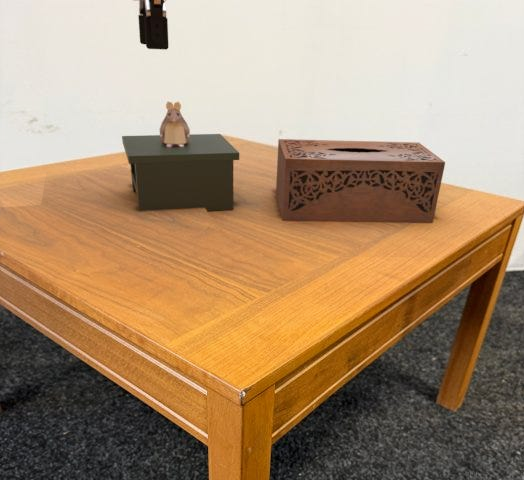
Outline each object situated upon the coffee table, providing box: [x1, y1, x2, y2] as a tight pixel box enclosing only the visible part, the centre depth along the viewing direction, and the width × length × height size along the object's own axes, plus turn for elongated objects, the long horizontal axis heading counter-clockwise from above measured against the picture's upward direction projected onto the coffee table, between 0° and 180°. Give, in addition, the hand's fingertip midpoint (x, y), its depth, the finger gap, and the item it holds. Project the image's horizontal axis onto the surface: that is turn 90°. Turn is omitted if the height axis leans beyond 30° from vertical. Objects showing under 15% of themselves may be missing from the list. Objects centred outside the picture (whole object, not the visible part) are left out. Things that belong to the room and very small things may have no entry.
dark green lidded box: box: [121, 133, 240, 212], centre depth 97 cm, size 18×15×10 cm
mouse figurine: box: [159, 101, 191, 147], centre depth 94 cm, size 5×8×7 cm, turn 7°
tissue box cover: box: [275, 138, 446, 224], centre depth 96 cm, size 26×14×10 cm, turn 93°
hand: (153, 46), depth 85 cm, fingers open, 9 cm apart
